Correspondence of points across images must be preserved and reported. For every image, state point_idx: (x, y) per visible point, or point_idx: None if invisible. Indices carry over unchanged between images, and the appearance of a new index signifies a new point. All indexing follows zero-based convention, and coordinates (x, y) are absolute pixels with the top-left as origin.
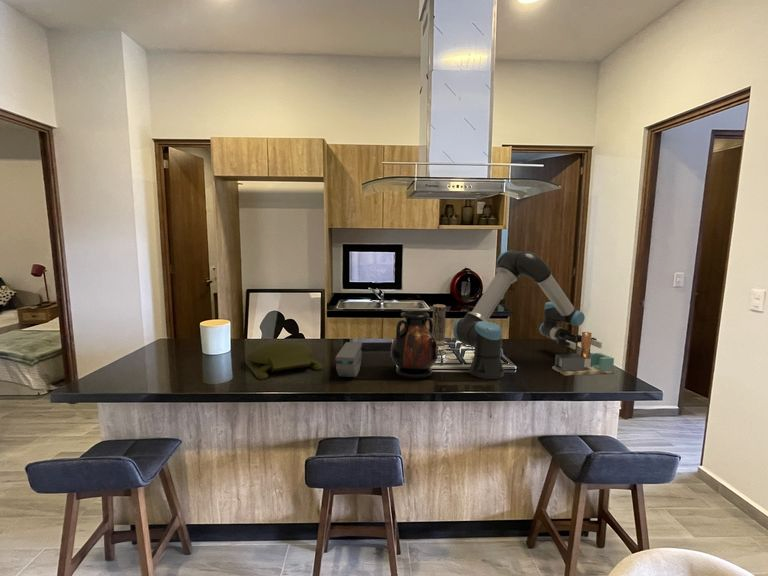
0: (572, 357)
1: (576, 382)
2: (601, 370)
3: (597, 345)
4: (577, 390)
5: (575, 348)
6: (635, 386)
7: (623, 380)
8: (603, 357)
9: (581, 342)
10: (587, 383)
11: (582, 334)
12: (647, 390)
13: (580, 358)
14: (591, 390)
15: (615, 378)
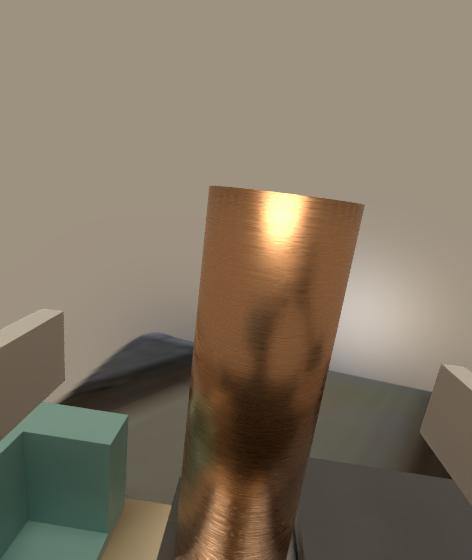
0: (433, 489)
1: (398, 447)
2: (124, 502)
3: (28, 390)
4: (415, 394)
5: (423, 424)
6: (161, 361)
7: (132, 403)
8: (66, 437)
9: (325, 380)
10: (343, 425)
11: (356, 236)
12: (161, 340)
13: (339, 470)
14: (359, 382)
15: (139, 429)
